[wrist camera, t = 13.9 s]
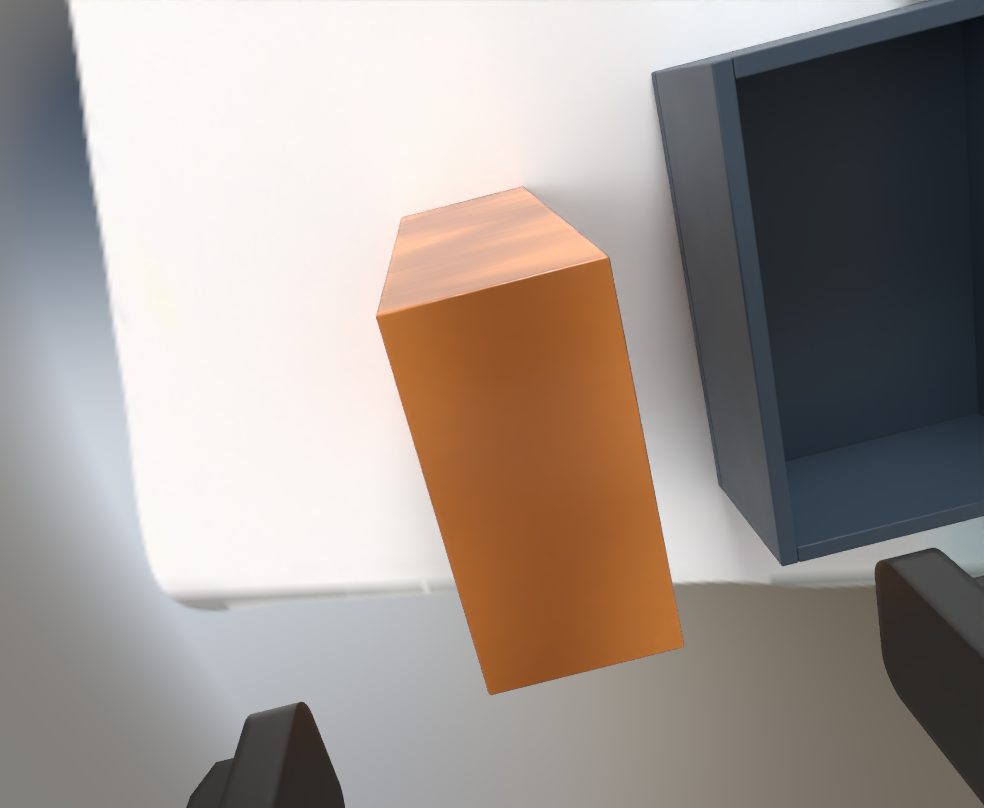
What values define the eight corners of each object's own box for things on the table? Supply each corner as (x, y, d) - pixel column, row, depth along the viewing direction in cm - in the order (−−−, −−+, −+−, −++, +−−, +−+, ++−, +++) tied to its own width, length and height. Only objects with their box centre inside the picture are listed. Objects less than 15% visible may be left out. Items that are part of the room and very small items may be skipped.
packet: (523, 186, 30) (609, 255, 15) (574, 415, 33) (685, 648, 18) (400, 217, 30) (375, 315, 15) (463, 443, 33) (489, 696, 19)
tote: (968, -11, 28) (1116, -43, 22) (985, 418, 34) (1107, 485, 28) (650, 72, 29) (711, 62, 22) (718, 485, 34) (781, 567, 28)
